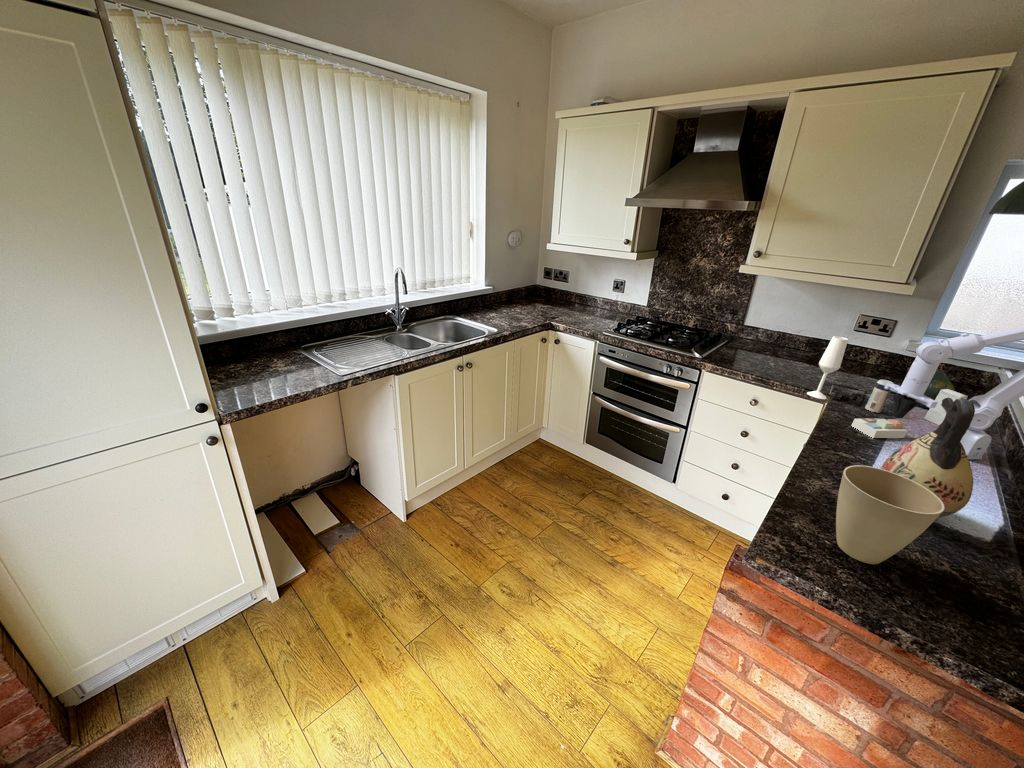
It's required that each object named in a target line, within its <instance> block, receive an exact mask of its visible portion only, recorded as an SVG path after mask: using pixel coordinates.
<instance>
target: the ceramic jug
mask: <svg viewBox="0 0 1024 768" xmlns="http://www.w3.org/2000/svg"><path fill="white" fill-rule="evenodd" d="M969 400H970V399H968V398H967V399H956V400H955V401H954V402H953V400H952V399H951V398H949V397H948V398H945V399H943V400H942V404H941V406H942V407H943V408H944V409H945V411H946V416H945V418H944V420H943V422H942V423H941V424H940V425H938V426H937V428H936V429H935V430H932V431H931V432H929V433H927V434H925V435H923V436H920V437H918V438H916V439H914V440H912V441H910V442H908V443H907V444H904V445H902V446H901V447H900V448H898V449H896V450H894V452H893V453H891V454H890V455H889V456H888V457H887V458H886V459H885V460H884V462H883V464H882V465H881V466H880V467H879V469H883V470H887V471H890V472H893V473H895V474H898V475H901V476H903V477H906V478H908V479H910V480H912V481H914V482H916V483H918V484H920V485H922V486H923V487H925V488H927V489H928V490H930V491H931V492H933V493H934V494H935V495H936V496H937V497H938V498H939V499H940V500H941V501H942V502H943V504H944V507H945V508H944V511H943V512H942V513H941V514H940V515H939V516H938V517H937V518H936V520H935V521H934V522H933V523H935V522H936V521H937V520H938V518H942V517H943V518H944V517H947V516H951V515H954V514H956V513H958V512H959V511H962V509H964V508H965V507H966V506H967V505H968V503H969V502H970V500H971V497H972V494H973V488H974V476H973V474H974V473H973V470H972V467H971V462H970V461H969V460H970V459H968V456H967V455H966V453H965V449H964V447H963V445H962V444H961V442H960V441H961V439H962V437H963V436H964V434H965V433H966V431H967V429H968V428H969V427H970V424H971V422H972V419H973V417H974V413H975V408H974V404H973V402H972V401H969Z"/></svg>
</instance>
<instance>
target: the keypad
mask: <svg viewBox="0 0 1024 768" xmlns="http://www.w3.org/2000/svg"><path fill="white" fill-rule="evenodd" d="M878 419H880V418H876V417H875V418H873V417H872V418H865V417H863V418H854V419H853V421H852V423H851V425H850V427H851V426H852V428H853V427H854V428H853V429H855V428H856V429H855V430H857V429H858V430H859V432H860V431H861V432H860V433H862V432H863V433H862V434H864V435H865V434H866V435H865V436H867V435H868V436H867V437H869V436H870V437H869V438H871V437H872V438H871V439H873V438H904V439H905V437H906V435H907V433H908V431H909V430H907V429H906V428H903V427H902V429H894V428H892V429H884V428H882V429H874V428H872V427H870V426H868V425H866V424H865V423H875V424H876V422H877V420H878ZM858 430H857V431H858Z"/></svg>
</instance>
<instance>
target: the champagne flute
mask: <svg viewBox="0 0 1024 768" xmlns="http://www.w3.org/2000/svg"><path fill="white" fill-rule="evenodd" d="M848 343H849V339H848V338H847V337H843V336H839V335H832V338H831V339H830V341H829V343H828V345H827V347H826V348H825V351H824V352H823V354H822V356H821V358H820V360H819V362H818V367H819V368H820V369H821V371H822V372H823V375H822V377H821V378H820V382H819V384H818V385H817V386H818V387H817V389H816V390H813V391H807V392H806V394H807V395H808V396H809V397H813V398H816V399H819V400H826V399H827V396H826V395H825V394H824V393H822V392H821V390H822V389H823V386H824V383H825V381H826V378H827V376H828V374H831V373H834V372H836V371H838V370H839V369H840V368H841V365H842V362H843V358H844V354H845V352H846V349H847V344H848Z"/></svg>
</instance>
